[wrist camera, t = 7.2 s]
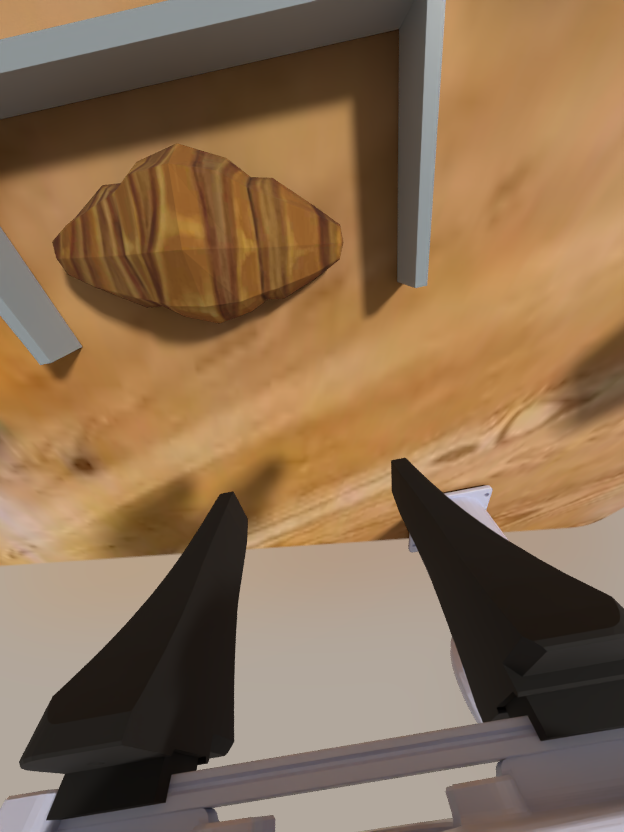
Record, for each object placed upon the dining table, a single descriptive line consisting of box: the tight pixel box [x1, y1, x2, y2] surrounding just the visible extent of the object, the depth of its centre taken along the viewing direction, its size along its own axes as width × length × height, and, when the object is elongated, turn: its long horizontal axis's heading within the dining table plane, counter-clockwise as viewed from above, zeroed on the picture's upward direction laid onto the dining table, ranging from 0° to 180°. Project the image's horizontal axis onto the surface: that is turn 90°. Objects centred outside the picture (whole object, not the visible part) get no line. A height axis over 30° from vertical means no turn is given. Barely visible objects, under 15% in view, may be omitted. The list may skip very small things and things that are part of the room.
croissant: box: [52, 144, 343, 323], centre depth 12 cm, size 14×7×5 cm, turn 93°
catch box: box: [0, 0, 446, 365], centre depth 12 cm, size 10×20×2 cm, turn 100°
